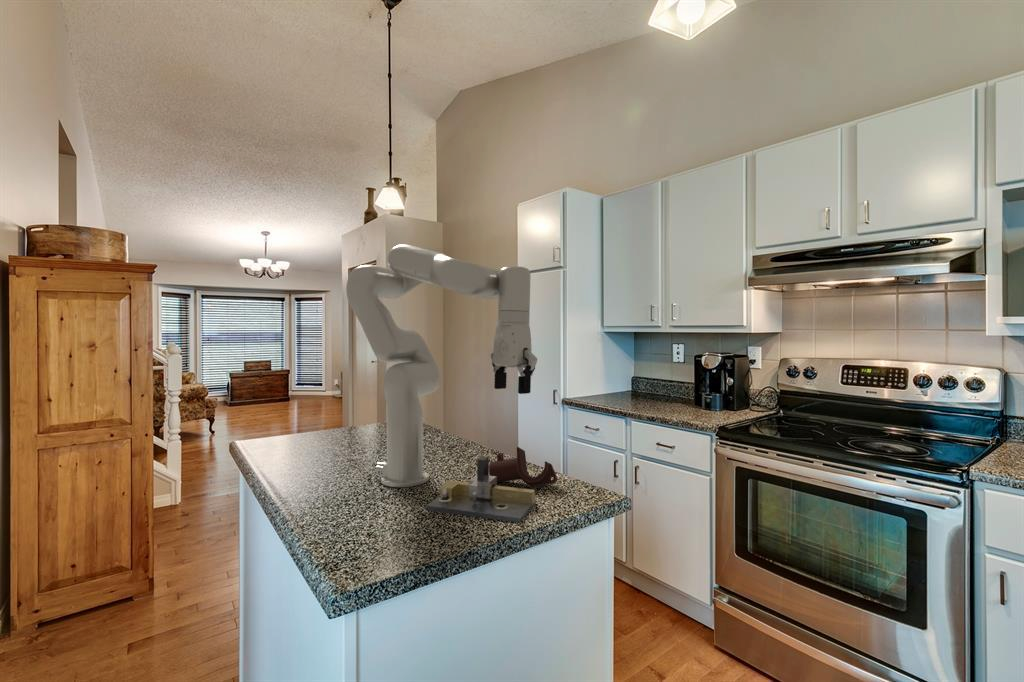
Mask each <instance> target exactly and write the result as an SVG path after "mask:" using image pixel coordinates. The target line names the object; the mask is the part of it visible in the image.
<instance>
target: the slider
mask: <svg viewBox="0 0 1024 682" xmlns="http://www.w3.org/2000/svg"><path fill="white" fill-rule="evenodd" d="M489 464H490V457H489V456H486V455H485V456H484V455H482V456H481V457H478V459H477V464H476V469H477V470H476V472H477V473H476V475H474V476H473V477H472V478H470V479H469V480H468V482H469V496H472V497H473V502H476V501H477V497H480V498H488V499H489V498H490V497H491V486H492V485H495V486H498V483H497V476H490V474H489Z"/></svg>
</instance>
